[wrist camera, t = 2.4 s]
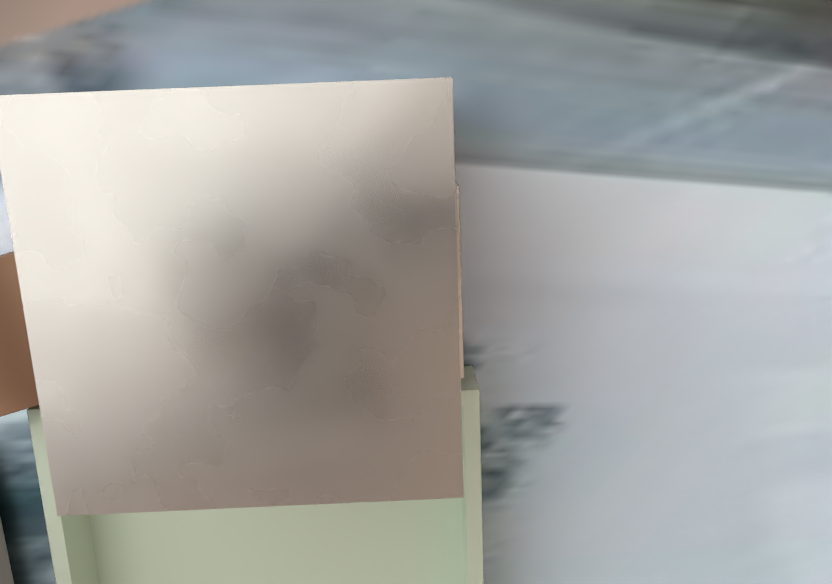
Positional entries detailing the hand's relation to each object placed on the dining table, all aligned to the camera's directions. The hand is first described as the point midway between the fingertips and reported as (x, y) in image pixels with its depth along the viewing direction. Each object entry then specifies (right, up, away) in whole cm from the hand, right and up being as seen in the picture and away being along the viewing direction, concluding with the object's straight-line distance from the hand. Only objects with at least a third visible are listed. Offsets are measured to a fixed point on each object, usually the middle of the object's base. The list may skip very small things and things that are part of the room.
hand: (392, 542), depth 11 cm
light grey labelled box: (-4, +6, +18) cm, 20 cm away
